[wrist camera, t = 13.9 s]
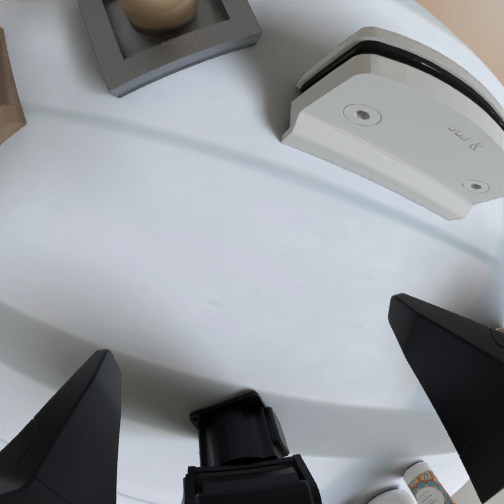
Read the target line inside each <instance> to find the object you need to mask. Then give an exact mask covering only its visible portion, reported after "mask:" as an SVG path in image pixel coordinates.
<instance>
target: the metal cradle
mask: <svg viewBox="0 0 504 504" xmlns="http://www.w3.org/2000/svg"><path fill="white" fill-rule="evenodd" d="M78 3H79V6H80V10H81V13H82V16H83V19H84V22H85V25H86V28H87V31H88V34H89V37H90V40H91V43H92V46H93V49H94V52H95V55H96V58H97V60H98V63H99V66H100V69H101V72H102V74H103V77H104V80H105V82H106V85H107V88H108V90H109V92H111V93H112V94H114V95H115V96H117V97H118V98H121V97H123V96H125V95H127V94H129V93H131V92H133V91H135V90H137V89H139V88H141V87H143V86H146V85H148V84H150V83H152V82H154V81H157V80H159V79H161V78H164V77H166V76H168V75H171V74H173V73H175V72H178V71H180V70H183V69H185V68H188V67H190V66H193V65H196V64H198V63H201V62H204V61H206V60H209V59H212V58H215V57H218V56H221V55H224V54H227V53H230V52H233V51H236V50H239V49H242V48H246V47H249V46H253V45H255V44H256V42H257V40H258V39H259V37H260V35H261V33H262V30H261V28H260V26H259V24H258V22H257V20H256V18H255V15H254V13H253V11H252V9H251V7H250V5H249V3H248V1H247V0H197V11H196V14H195V16H194V18H193V19H192V20H191V22H190V23H189V24H188V25H187V26H186V27H184V28H183V29H181V30H180V31H178V32H176V33H173V34H171V35H167V36H162V37H152V36H147V35H143V34H141V33H139V32H138V31H136V30H135V29H134V28H133V27H132V25H131V23H130V22H129V20H128V18H127V16H126V14H125V13H124V11H123V9H122V7H121V5H120V4H119V2H118V0H78Z"/></svg>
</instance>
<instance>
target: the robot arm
mask: <svg viewBox="0 0 504 504" xmlns="http://www.w3.org/2000/svg"><path fill="white" fill-rule="evenodd" d="M388 320H389V323H390V326H391V328H392V330H393V332H394V334H395V336H396V338H397V340H398V343H399V345H400V347H401V349H402V351H403V354H404V356H405V358H406V359H407V361H408V363H409V365H410V366H411V368H412V370H413V372H414V373H415V375H416V377H417V378H418V380H419V382H420V384H421V385H422V387H423V389H424V391H425V392H426V394H427V396H428V398H429V400H430V401H431V403H432V405H433V407H434V409H435V410H436V412H437V414H438V416H439V418H440V420H441V422H442V423H443V425H444V427H445V429H446V431H447V433H448V435H449V437H450V439H451V441H452V443H453V445H454V447H455V448H456V450H457V452H458V454H459V455H460V456H459V457H460V459H461V461H462V463H463V465H464V467H465V469H466V471H467V473H468V475H469V477H470V480H471V482H472V484H473V486H474V488H475V490H476V492H477V495H478V497H479V499H480V501H481V503H482V504H484V503H485V502H487V501H488V500H489V499H491V498H492V497H493V496H495V495H496V494H498V493H499V492H500V491H501V490H503V489H504V333H503V332H500V331H498V330H495V329H493V328H490V327H489V328H488V326H485V325H483V324H480V323H478V322H475V321H473V320H470V319H468V318H465V317H463V316H460V315H458V314H455V313H453V312H450V311H448V310H445V309H443V308H440V307H438V306H435V305H432V304H430V303H427V302H425V301H422V300H420V299H417V298H415V297H412V296H409V295H407V294H404V293H400V294H397V295H393V296H392V297H391V300H390V306H389V313H388ZM252 397H255V398H252ZM194 417H196V418H194ZM120 419H121V374H120V369H119V366H118V364H117V362H116V360H115V358H114V356H113V354H112V353H111V351H110V350H109V349H102V350H97V351H96V352H95V353H94V354H93V355H92V356H91V357H90V358H89V359H88V360H87V361H86V362H85V363H84V364H83V365H82V366H81V367H80V368H79V369H78V370H77V371H76V372H75V373H74V375H73V376H72V377H71V378H70V379H69V380H68V381H67V382H66V383H65V384H64V385H63V386H62V387H61V388H60V389H59V390H58V391H57V393H56V394H55V395H54V396H53V397H52V398H51V399H50V400H49V401H48V402H47V403H46V404H45V405H44V407H43V408H42V409H41V410H40V411H39V412H38V413H37V414H36V415H35V416H34V419H32V420H31V421H30V422H29V423H28V424H27V425H26V426H25V427H24V428H23V429H22V431H21V432H20V433H19V434H18V435H17V436H16V437H15V438H14V439H13V440H12V441H11V442H10V443H9V444H8V445H7V446H6V447H4V448H3V449H2V450H1V451H0V504H116V485H117V461H118V444H119V431H120ZM189 420H190V421H191V422H192V424H193V425H194V426H195V427H196V428H197V430H198V436H199V454H200V467H195V466H188V474H186V477H185V478H183V487H184V493H183V499H182V504H322V501H321V496H320V493H319V489H318V487H317V484H316V482H315V481H314V479H313V477H312V475H311V473H310V472H309V470H308V468H307V466H306V464H305V463H304V461H303V459H302V457H301V455H300V454H296V455H293V456H291V457H286V456H288V455H289V450H288V447H287V443H286V440H285V437H284V434H283V431H282V428H281V425H280V422H279V420H278V418H277V417H276V415H275V413H274V411H273V410H272V408H271V407H266V406H265V404H264V403H263V401H262V399H261V397H260V396H259V394H258V393H257V392H251V393H248V394H245V395H243V396H240V397H237V398H234V399H232V400H229V401H226V402H223V403H220V404H217V405H214V406H211V407H208V408H205V409H202V410H199V411H196V412H193V413H191V414H190V415H189ZM284 457H285V458H284Z"/></svg>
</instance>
